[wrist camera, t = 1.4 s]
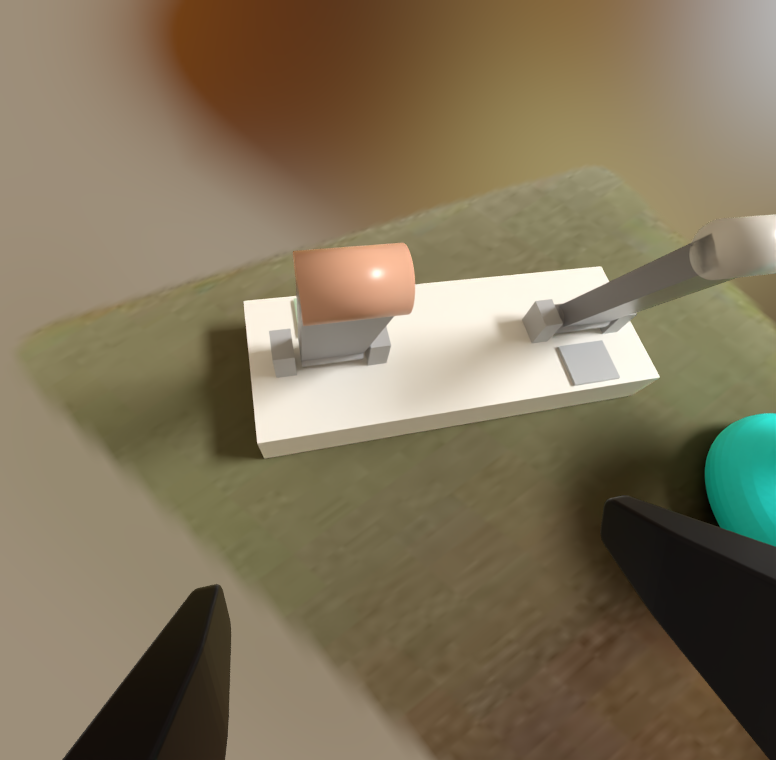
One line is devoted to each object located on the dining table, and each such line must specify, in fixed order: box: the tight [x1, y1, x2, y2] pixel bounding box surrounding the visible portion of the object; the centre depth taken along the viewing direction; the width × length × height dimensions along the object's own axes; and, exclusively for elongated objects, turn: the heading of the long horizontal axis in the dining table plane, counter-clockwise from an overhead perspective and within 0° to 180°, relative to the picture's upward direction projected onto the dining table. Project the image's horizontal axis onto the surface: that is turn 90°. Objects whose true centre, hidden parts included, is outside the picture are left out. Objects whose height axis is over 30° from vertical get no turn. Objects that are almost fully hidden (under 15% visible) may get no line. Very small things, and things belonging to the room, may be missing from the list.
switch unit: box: [244, 266, 660, 459], centre depth 24 cm, size 8×22×4 cm, turn 103°
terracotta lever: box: [293, 243, 415, 367], centre depth 17 cm, size 2×3×11 cm, turn 102°
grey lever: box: [554, 215, 776, 333], centre depth 19 cm, size 2×3×11 cm, turn 103°
